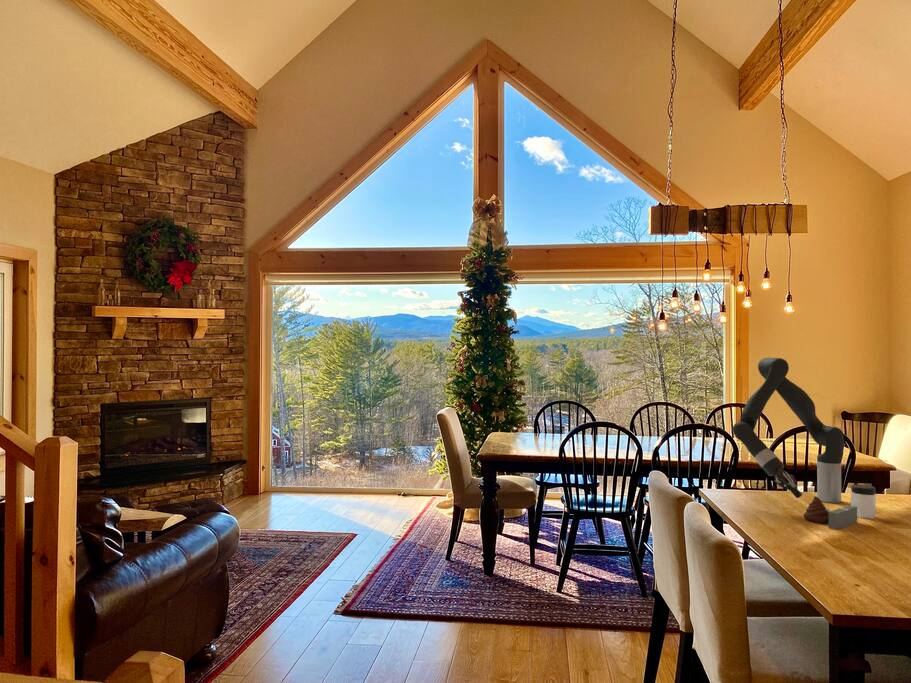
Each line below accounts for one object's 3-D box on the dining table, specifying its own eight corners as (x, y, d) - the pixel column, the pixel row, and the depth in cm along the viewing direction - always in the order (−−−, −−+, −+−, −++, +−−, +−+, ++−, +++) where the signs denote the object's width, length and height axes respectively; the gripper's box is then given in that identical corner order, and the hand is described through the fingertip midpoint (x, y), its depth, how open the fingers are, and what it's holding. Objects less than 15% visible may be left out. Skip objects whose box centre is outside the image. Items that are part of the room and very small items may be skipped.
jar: (845, 514, 256) (845, 484, 256) (860, 512, 258) (860, 483, 258) (865, 519, 247) (865, 489, 247) (881, 518, 250) (881, 488, 250)
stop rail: (848, 520, 245) (848, 504, 245) (857, 522, 243) (857, 506, 243) (828, 527, 234) (828, 511, 235) (837, 529, 232) (837, 512, 232)
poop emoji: (798, 518, 248) (798, 494, 249) (815, 517, 251) (815, 493, 251) (819, 525, 239) (819, 500, 239) (836, 523, 241) (836, 499, 241)
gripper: (767, 458, 255) (799, 493, 245) (783, 454, 263) (814, 489, 253) (755, 469, 259) (785, 504, 249) (770, 465, 267) (800, 499, 258)
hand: (799, 496), depth 251 cm, fingers closed
